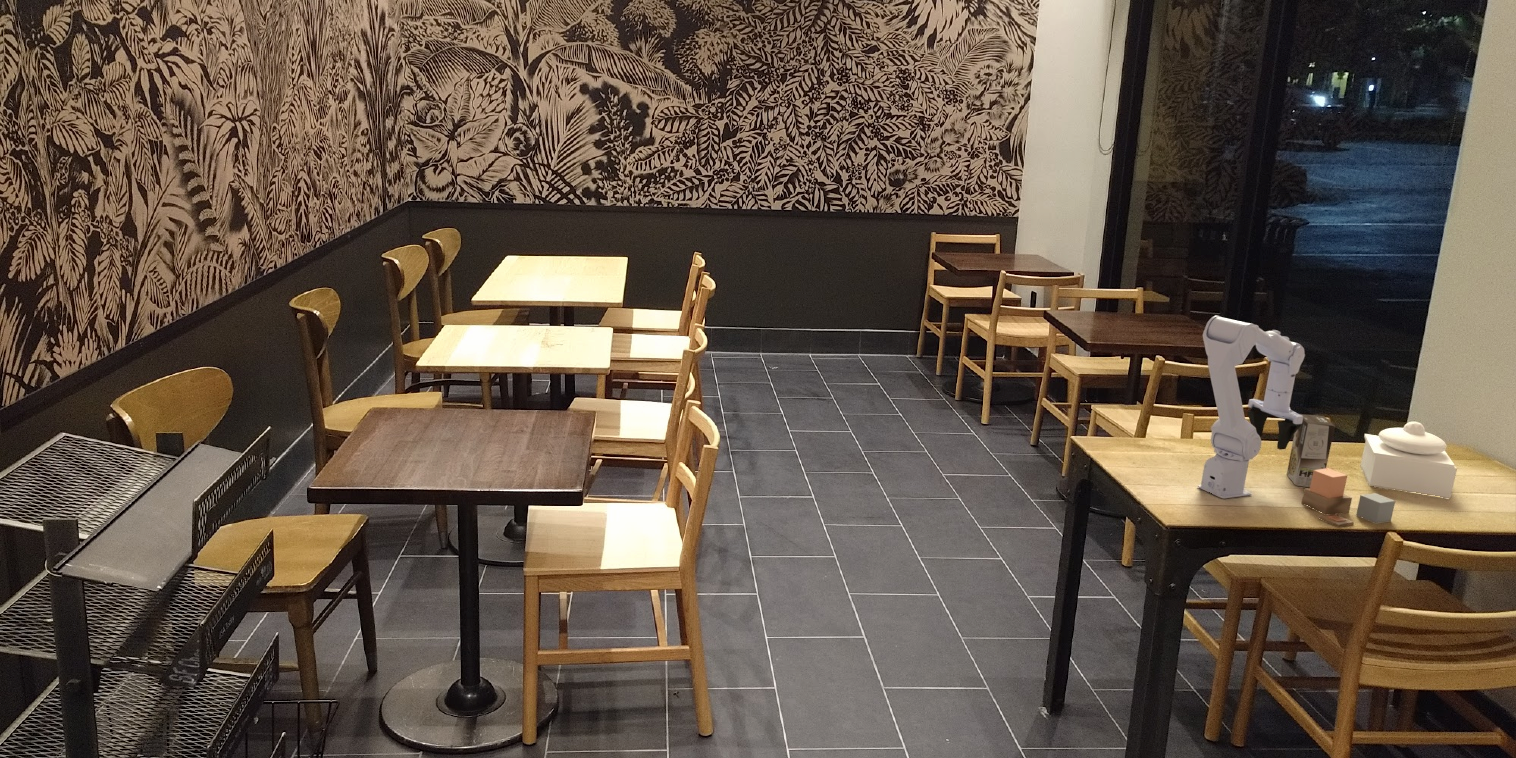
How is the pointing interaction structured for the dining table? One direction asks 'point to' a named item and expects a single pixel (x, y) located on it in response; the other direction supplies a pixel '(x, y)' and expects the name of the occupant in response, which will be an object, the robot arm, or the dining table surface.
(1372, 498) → the slate cube
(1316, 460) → the coffee box
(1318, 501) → the walnut slab
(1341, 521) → the tile
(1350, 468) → the dining table surface
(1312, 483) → the terracotta cube
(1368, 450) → the butter dish
